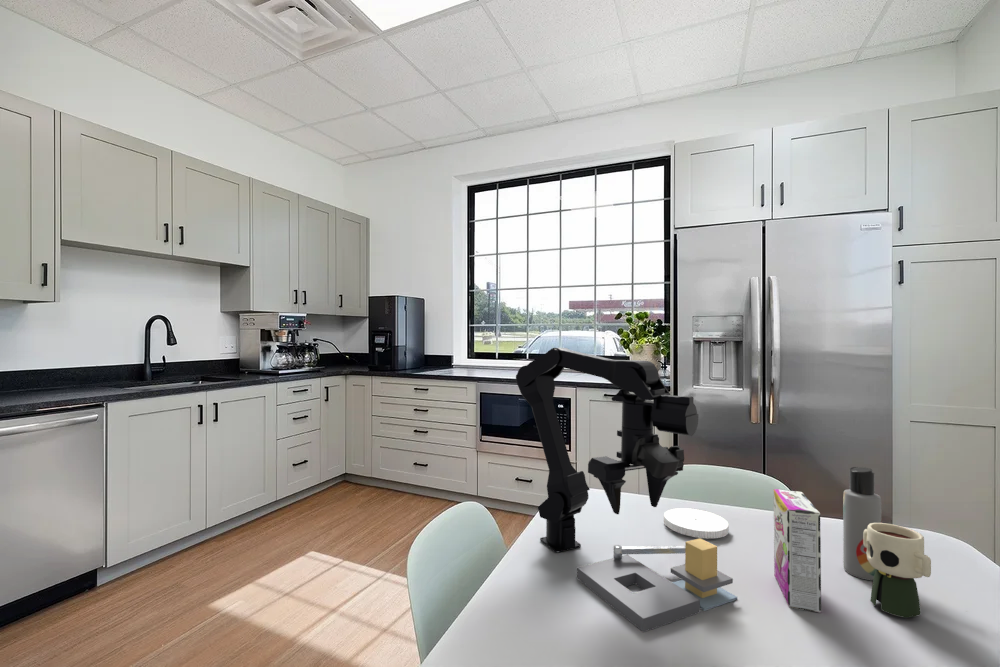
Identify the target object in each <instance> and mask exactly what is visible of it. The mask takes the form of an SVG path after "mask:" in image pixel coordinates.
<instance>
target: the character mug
mask: <svg viewBox="0 0 1000 667" xmlns="http://www.w3.org/2000/svg"><path fill="white" fill-rule="evenodd" d="M863 544H864V546H865V547H866V548H867V552H866V554H867V559H868V561H869V563H870V564H871V566H872V567H874V568H875V569H877V570H876V571H875V574H874V579H873V580H872V586H871V590H870V591H871V594H870V599H869V600H870V602H871V603H872V605H874V606H875V607H877V606H876V605H877V601H878V602H879V603H880V610H881V611H883V612H886V613H887V614H890V615H893V616H897V617H901V618H904V619H905V618H915V617H918V616H921V613H922V612H921V605H920V604H921V603H920V599H919V598H920V597H919V591H918V586H917V582H916V580H915V579H919V578H922V577H924V578H930V577H931V575H932V559H931V558H930V556H928V555H926V554H925V537H924V536H923V534H922V533H920V532H918V531H916V530H913V529H910V528H908V527H905V526H902V525H901V526H900V525H897V524H893V523H885V522H884V523H883V522H881V523H870V524H869V525H868V527H867V529H865V530H864V532H863Z"/></svg>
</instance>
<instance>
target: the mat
mask: <svg viewBox="0 0 1000 667" xmlns="http://www.w3.org/2000/svg"><path fill="white" fill-rule="evenodd" d="M671 582H672V581H671ZM672 583H674V584H675V585H677V586H679V587H680V588H682V589H683V590H685V591H687V592H688V593H690V594H691V595H693V596H695V597H696V598H698V599H699V600H700V610H702V611H703V612H704V611H708V610H710V609H714V608H717V607H719V606H720V607H721V606H722V605H726V604H727V603H730V602H733V601H736V600H738V596H737V595H735V594H733V593H731V592H729V591H728V590H726V589H724V588H722V587H719V588H717V594H714V595H711V596H707V597H704V598H701V597H699V596H698V595H696V594H695V593H693V592H691V591H690V590H688V589H687V588H685V581H684V580H682V579H680V580H677V581H673V582H672Z"/></svg>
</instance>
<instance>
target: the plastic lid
mask: <svg viewBox="0 0 1000 667" xmlns="http://www.w3.org/2000/svg"><path fill="white" fill-rule="evenodd" d="M663 523H664V525H665V527H667V528H668V529H670V530H671V531H673V532H676V533H678V534H681V535H684V536H686V537H687V536H688V537H693V538H697V539H699V538H700V539H719V538H723V537H725V536H727V535H728V534H729V532H730V531H729V530H730V528H729V527H730V524H729V522H728V521H727V519H725V518H724V517H722V516H720V515H718V514H716V513H713V512H710V511H706V510H701V509H695V508H690V507H689V508H688V507H687V508H685V507H681V508H680V507H679V508H677V507H676V508H672V509H668V510H666V511H665V512H664V513H663Z"/></svg>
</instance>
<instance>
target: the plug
mask: <svg viewBox="0 0 1000 667" xmlns="http://www.w3.org/2000/svg"><path fill="white" fill-rule="evenodd" d="M684 546H685V553H684V554H685V555H684V556H685V559H684V562H685V563H684V564H679V565H677V566H676V565H675V566H673V567H671V568H670V573H671V574H672V575H674V576H675V577H678V579H680V580H684V581H685V588H687V589H688V590H690V591H691V592H693V593H695V594H696V595H698V596H699V597H701V598H704V597H707V596H711V595H714V594H717V588H719V587H721V588H722V587H725V586H728V585H731V584H733V580H734V579H733V577H731V576H730V575H727V574H726V573H723V572H722V571H719V570H718V546H717V545H715V544H712V543H710V542H708V541H706V540H705V539H704V538H696V539H691V540H687V541H685V545H684Z"/></svg>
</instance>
